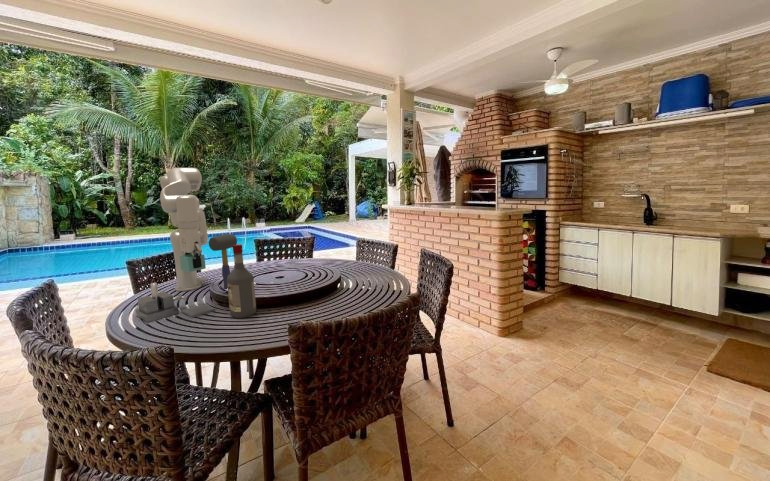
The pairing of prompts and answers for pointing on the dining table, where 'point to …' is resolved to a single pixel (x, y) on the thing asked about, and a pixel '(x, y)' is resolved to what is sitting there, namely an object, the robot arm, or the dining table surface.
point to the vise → (157, 305)
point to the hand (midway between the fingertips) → (193, 266)
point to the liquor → (240, 287)
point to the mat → (198, 310)
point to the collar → (191, 263)
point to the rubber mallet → (223, 251)
